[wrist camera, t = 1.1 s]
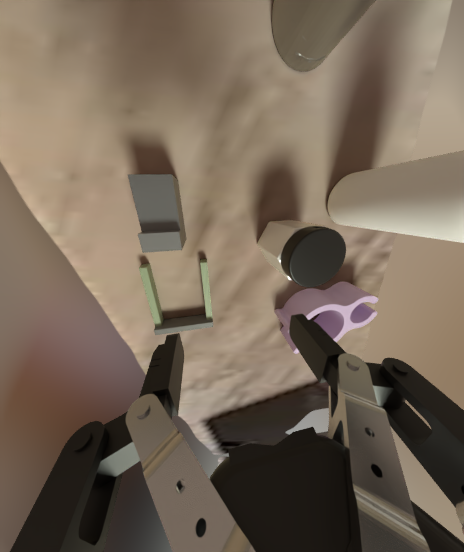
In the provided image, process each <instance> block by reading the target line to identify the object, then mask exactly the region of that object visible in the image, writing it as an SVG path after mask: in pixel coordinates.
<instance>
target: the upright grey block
mask: <svg viewBox="0 0 464 552" xmlns="http://www.w3.org/2000/svg"><path fill="white" fill-rule="evenodd" d="M128 178H129V182H130V186H131V190H132V194H133V198H134V202H135V206H136V210H137V214H138V218H139V222H140V226H141V230H142V232H141V233H139V234H138V237H139V240H140V244H141V248H142V252H143V253H144V252H159V251H173V250H182V248H183V246H184V243H185V241H186V234H185V226H184V219H183V212H182V205H181V198H180V191H179V184H178V180H177V179H176V178H175V177H174V176H173V175H172V174H139V175H128Z"/></svg>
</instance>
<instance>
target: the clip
mask: <svg viewBox="0 0 464 552" xmlns="http://www.w3.org/2000/svg"><path fill="white" fill-rule="evenodd" d="M377 301H378V298H377V297H375V296H373V295H371V294H369V293H367V292H365V291H363V290H362V289H360V288H358V287H356V286H354V285H352V284H350V283H348V282H338V283H336V284H334V285H332V286H331V287H330V288H328V289H326V290H319V289H315V288H309V289H304V290H301V291H299V292H297V293H295V294H294V295H293V296H291V297H290V298H289V299H288V301H287V302H286V303H285V305H284V307H283V308H282V309H276V310H275V314H276V315H277V317H278V318H279V320H280V321H281V322H282V324H283V325H284V326H283V327H282V329H281V330H280V331H281V333H282V334H283V336H284V337H285V339H286V341H287V342H288V344H289V345H290V347H291V349H292V350H293V352H294V353H296V354H297V353H299V350H298V349H297V347H296V346H295V344H294V343H293V341H292V340H291V338H290V334H289V328H290V320H291V316H292V315H296V314H304V315H305V316H306V318H307V319H308V320H310V319H311V318H312V317H314V316H315V315H317V314H319V313H320V314H319V316H318V317H317V318H316V319H315V320H314V322H316V323H318V324H319V325H320V326H321V327H322V328H323V330H325V331H326V332H327V334H328V335H329V336H330V337H331V338H332V339H333V340H334V341H335V342H337V341H338V340H339V339H340V338H341V337H342V336H343V335H344V334H345V333H346V332H347V331H349V330H351V329H354V328H359V327H362V326H364V325H366V324H368V323H369V322H370V321H371V320H372V319H373V318H374V317H375V316H376V315H377V312H376V311H375V310H373V309H371V308H370V307H368V306H367V305H365V304H363V302H371V303H373V304H374V303H376V302H377Z"/></svg>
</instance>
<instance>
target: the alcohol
mask: <svg viewBox="0 0 464 552" xmlns="http://www.w3.org/2000/svg"><path fill="white" fill-rule="evenodd" d="M327 208H328V213H329V215H330V217H331V219H332V220H333V221H334V222H335V223H337V224H340V225H346V226H353V227H360V228H367V229H374V230H380V231H387V232H394V233H402V234H408V235H415V236H422V237H428V238H435V239H442V240H449V241H456V242H462V243H464V150H463V151H459V152H454V153H449V154H444V155H439V156H434V157H429V158H425V159H419V160H414V161H409V162H404V163H400V164H395V165H390V166H385V167H380V168H375V169H370V170H365V171H360V172H355V173H351V174H349V175H347V176H345V177H344V178H342V179H341V180H340V181H339V182H338V183H337V184H336V185H335V187H334V188H333V189H332V191H331V193H330V196H329V198H328V204H327Z"/></svg>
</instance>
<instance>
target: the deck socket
mask: <svg viewBox="0 0 464 552" xmlns="http://www.w3.org/2000/svg"><path fill="white" fill-rule="evenodd" d="M200 265H201V274H202V283H203V292H204V300H205V309H206V314H203V315H195V316H188V317H180V318H173V319H165V320H164V319H163V315H162V311H161V307H160V303H159V299H158V295H157V291H156V287H155V283H154V279H153V275H152V271H151V267H150V264H142V265H141V266H140V268H139V270H140V274H141V278H142V281H143V285H144V288H145V292H146V295H147V299H148V302H149V306H150V309H151V313H152V317H153V320H154V324H155V329H154V332H155V335H159V334H166V333H173V332H180V331H187V330H194V329H201V328H208V327H213V319H212V309H211V298H210V288H209V278H208V267H207V259H201V260H200Z"/></svg>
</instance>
